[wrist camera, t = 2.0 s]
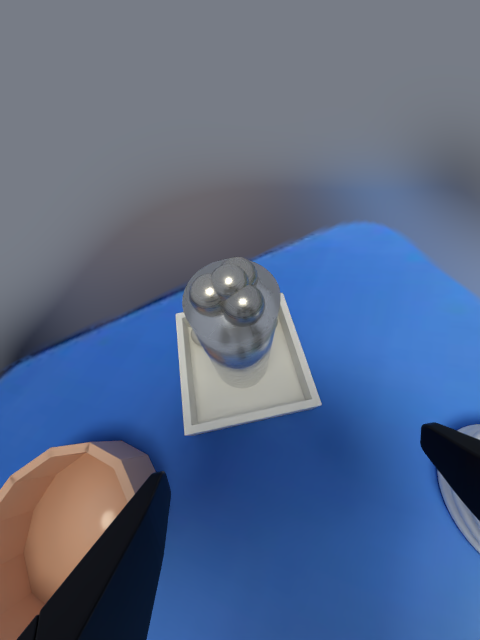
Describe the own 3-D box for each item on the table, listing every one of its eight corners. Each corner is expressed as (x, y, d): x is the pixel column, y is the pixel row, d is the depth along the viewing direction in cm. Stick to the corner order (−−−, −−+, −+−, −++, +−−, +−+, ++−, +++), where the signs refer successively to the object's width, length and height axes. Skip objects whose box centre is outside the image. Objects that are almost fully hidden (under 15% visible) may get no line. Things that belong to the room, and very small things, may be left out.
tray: (313, 408, 21) (321, 404, 18) (193, 435, 20) (184, 435, 18) (279, 307, 26) (282, 292, 23) (183, 326, 25) (175, 313, 23)
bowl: (107, 656, 15) (52, 741, 11) (-4, 565, 17) (-84, 605, 13) (186, 475, 19) (168, 486, 15) (88, 422, 21) (50, 419, 17)
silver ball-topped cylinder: (256, 397, 21) (261, 341, 8) (207, 376, 22) (147, 300, 10) (274, 348, 23) (299, 245, 10) (228, 331, 24) (202, 221, 12)
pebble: (210, 352, 23) (205, 344, 21) (190, 344, 24) (183, 335, 21) (219, 332, 24) (216, 322, 22) (200, 325, 25) (195, 315, 22)
